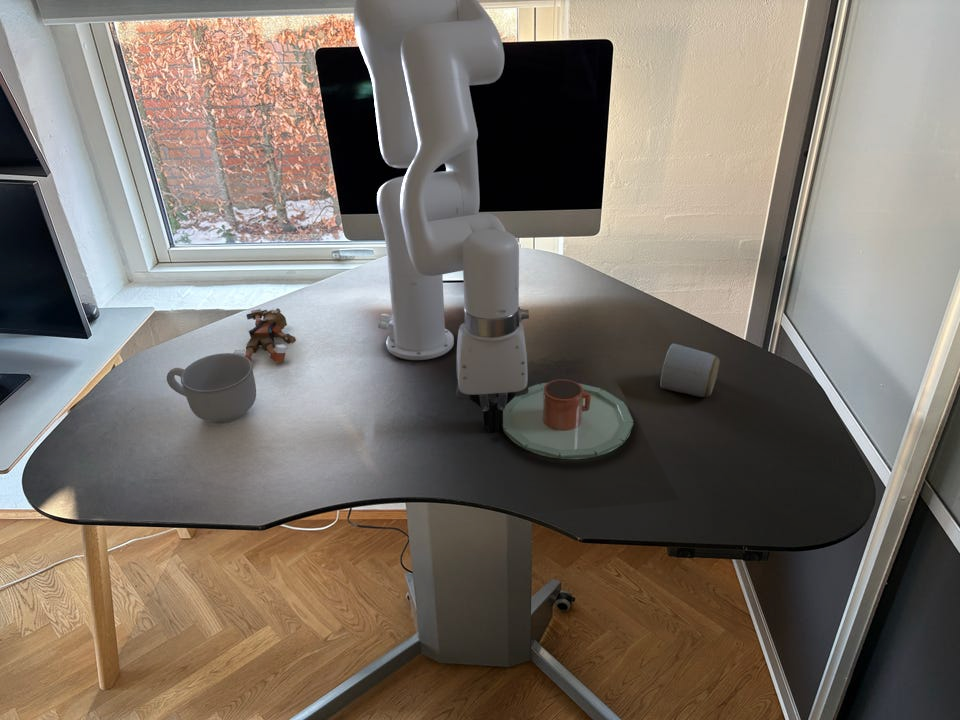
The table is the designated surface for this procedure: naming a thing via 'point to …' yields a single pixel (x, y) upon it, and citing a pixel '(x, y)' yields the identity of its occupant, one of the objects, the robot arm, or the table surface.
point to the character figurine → (267, 334)
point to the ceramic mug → (689, 371)
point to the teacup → (217, 386)
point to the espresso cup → (564, 404)
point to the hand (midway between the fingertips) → (492, 427)
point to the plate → (591, 438)
